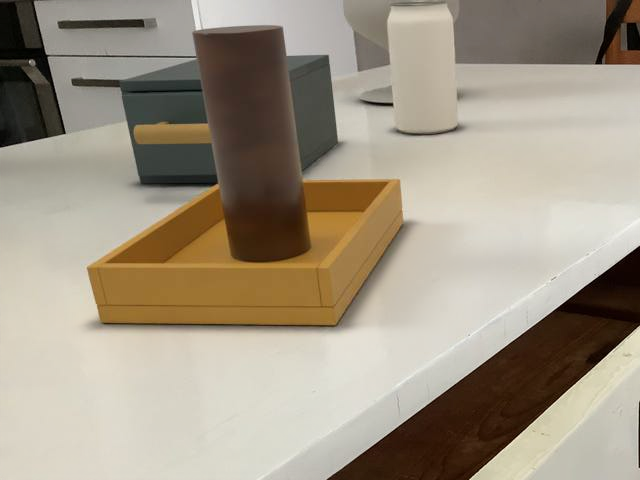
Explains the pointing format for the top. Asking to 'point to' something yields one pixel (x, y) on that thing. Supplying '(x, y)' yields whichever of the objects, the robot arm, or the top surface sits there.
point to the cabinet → (307, 96)
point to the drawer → (169, 133)
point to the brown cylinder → (254, 140)
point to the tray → (250, 277)
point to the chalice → (379, 31)
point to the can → (422, 67)
